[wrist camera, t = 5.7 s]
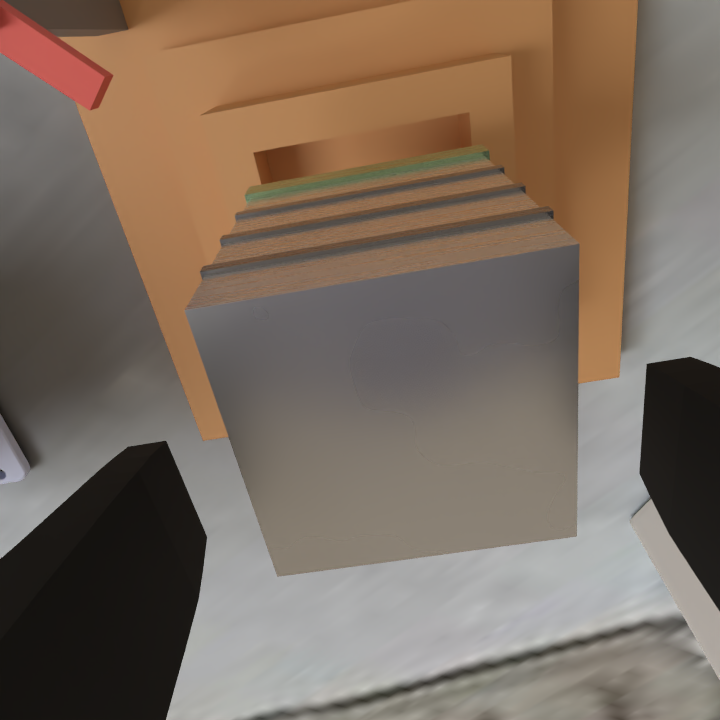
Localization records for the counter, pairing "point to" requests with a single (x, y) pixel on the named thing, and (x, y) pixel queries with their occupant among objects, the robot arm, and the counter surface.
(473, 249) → the grey grooved block
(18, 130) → the counter surface
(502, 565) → the counter surface
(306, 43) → the orange stepped square base
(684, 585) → the milk carton
